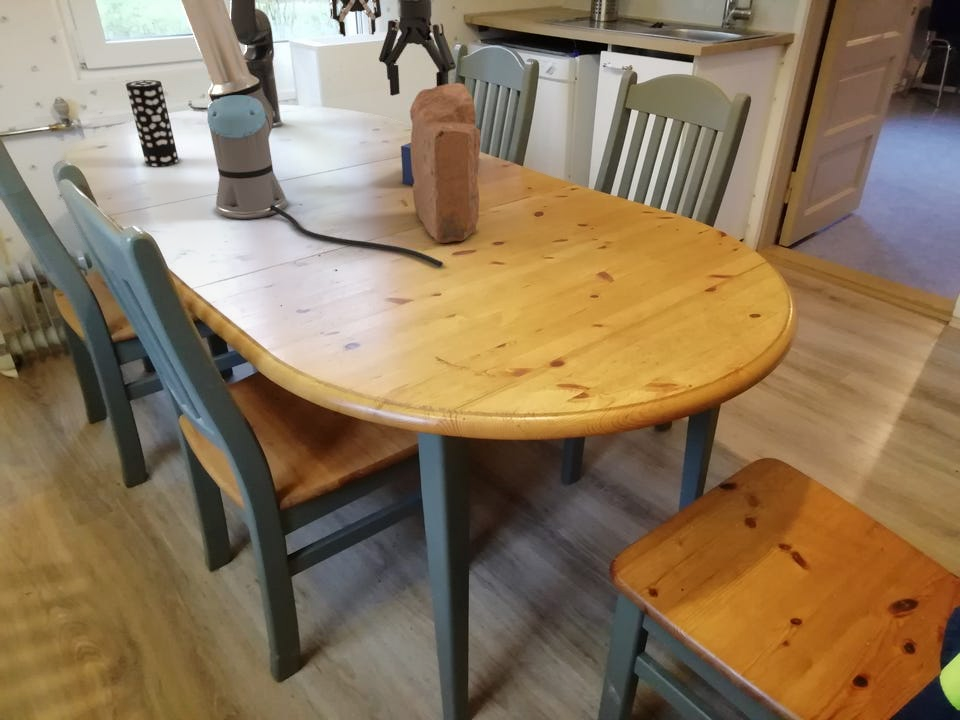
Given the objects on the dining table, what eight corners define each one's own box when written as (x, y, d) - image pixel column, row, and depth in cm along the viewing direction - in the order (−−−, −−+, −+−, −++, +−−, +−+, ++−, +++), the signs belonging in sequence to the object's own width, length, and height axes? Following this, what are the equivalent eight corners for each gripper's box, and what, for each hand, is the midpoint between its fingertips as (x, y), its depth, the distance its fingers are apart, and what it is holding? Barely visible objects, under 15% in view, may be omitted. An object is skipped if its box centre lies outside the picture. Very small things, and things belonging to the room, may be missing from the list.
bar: (420, 187, 172) (418, 149, 167) (402, 183, 174) (400, 146, 169) (478, 159, 192) (478, 125, 187) (461, 156, 194) (461, 122, 189)
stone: (490, 240, 143) (490, 97, 128) (437, 246, 140) (432, 100, 125) (459, 208, 160) (457, 80, 146) (412, 214, 157) (405, 83, 143)
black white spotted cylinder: (184, 157, 190) (167, 80, 179) (169, 166, 183) (151, 87, 172) (155, 156, 190) (136, 79, 179) (139, 165, 183) (119, 86, 172)
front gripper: (470, 0, 151) (470, 101, 162) (380, -7, 161) (385, 89, 173) (452, 3, 145) (453, 107, 157) (359, -4, 156) (367, 94, 167)
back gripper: (371, -32, 193) (376, 32, 202) (322, -31, 187) (329, 35, 196) (382, -30, 187) (385, 35, 196) (331, -29, 182) (337, 38, 190)
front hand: (417, 98), depth 165 cm, fingers open, 13 cm apart
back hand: (357, 35), depth 196 cm, fingers open, 8 cm apart
